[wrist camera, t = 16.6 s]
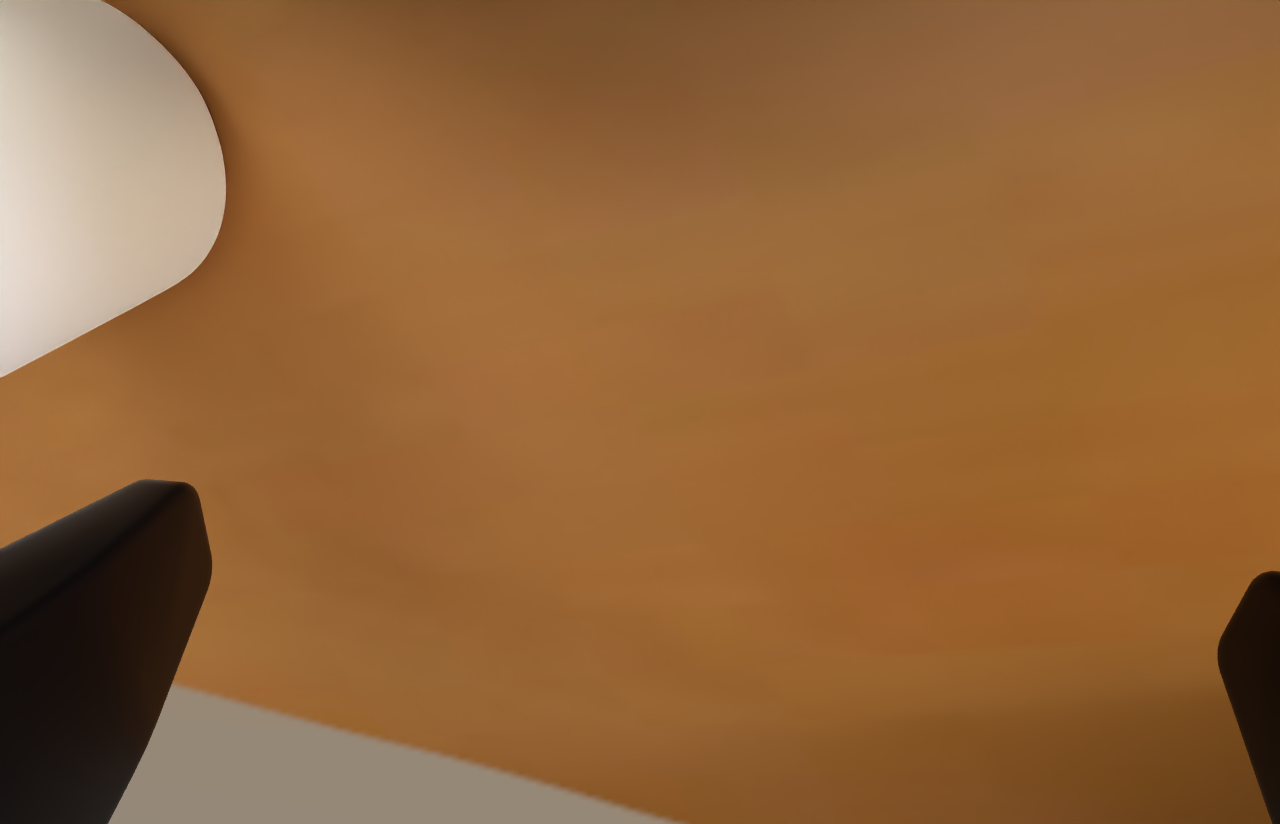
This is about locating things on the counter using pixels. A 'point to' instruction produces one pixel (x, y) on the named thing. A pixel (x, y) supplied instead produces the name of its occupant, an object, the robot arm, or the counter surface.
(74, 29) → the can
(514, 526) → the counter surface
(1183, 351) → the counter surface
